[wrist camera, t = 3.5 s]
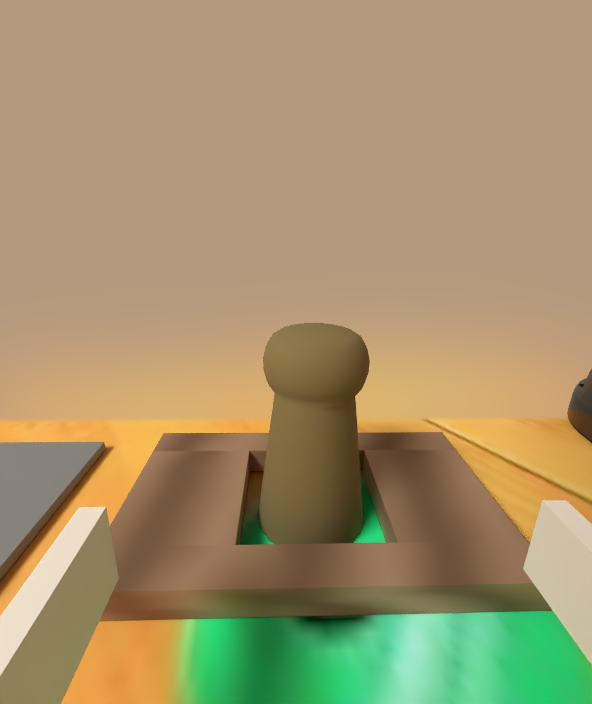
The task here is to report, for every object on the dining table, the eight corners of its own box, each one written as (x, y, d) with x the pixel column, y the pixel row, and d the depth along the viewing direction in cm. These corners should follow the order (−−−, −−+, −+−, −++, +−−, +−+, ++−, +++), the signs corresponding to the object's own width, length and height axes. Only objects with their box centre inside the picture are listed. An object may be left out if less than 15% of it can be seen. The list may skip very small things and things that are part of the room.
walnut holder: (435, 446, 28) (438, 428, 27) (551, 610, 16) (559, 582, 15) (168, 448, 27) (166, 429, 27) (78, 621, 15) (72, 592, 15)
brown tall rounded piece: (273, 472, 25) (273, 310, 21) (365, 486, 23) (381, 317, 20) (242, 544, 19) (235, 340, 16) (360, 567, 18) (381, 352, 14)
